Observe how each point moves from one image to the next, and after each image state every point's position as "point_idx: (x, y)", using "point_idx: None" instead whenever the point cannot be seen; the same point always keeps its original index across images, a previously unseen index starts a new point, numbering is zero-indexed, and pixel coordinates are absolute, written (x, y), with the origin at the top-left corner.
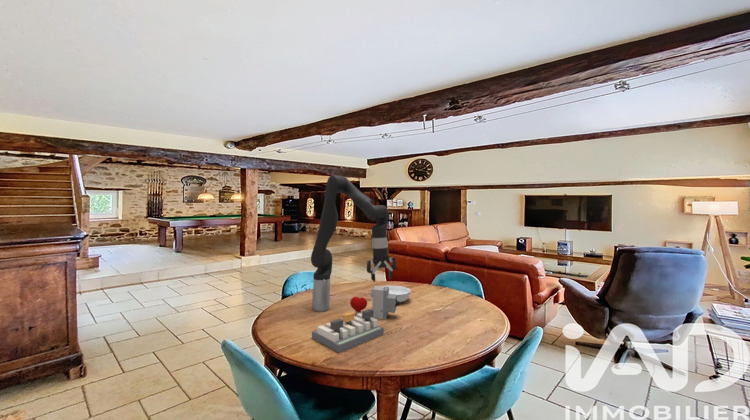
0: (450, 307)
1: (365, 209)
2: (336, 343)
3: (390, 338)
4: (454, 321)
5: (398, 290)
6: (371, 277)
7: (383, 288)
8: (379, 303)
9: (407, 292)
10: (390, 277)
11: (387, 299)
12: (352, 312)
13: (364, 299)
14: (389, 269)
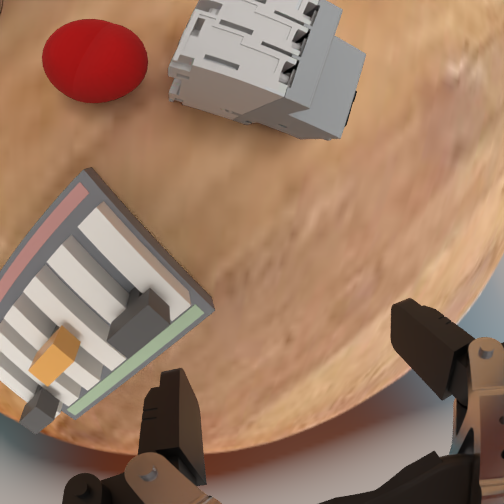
0: (481, 72)
1: None
2: (64, 409)
3: (234, 326)
4: (463, 187)
5: None
6: (146, 424)
7: (294, 34)
8: (227, 102)
9: None
10: (401, 353)
11: (290, 117)
12: (62, 353)
13: (122, 68)
14: (453, 427)
